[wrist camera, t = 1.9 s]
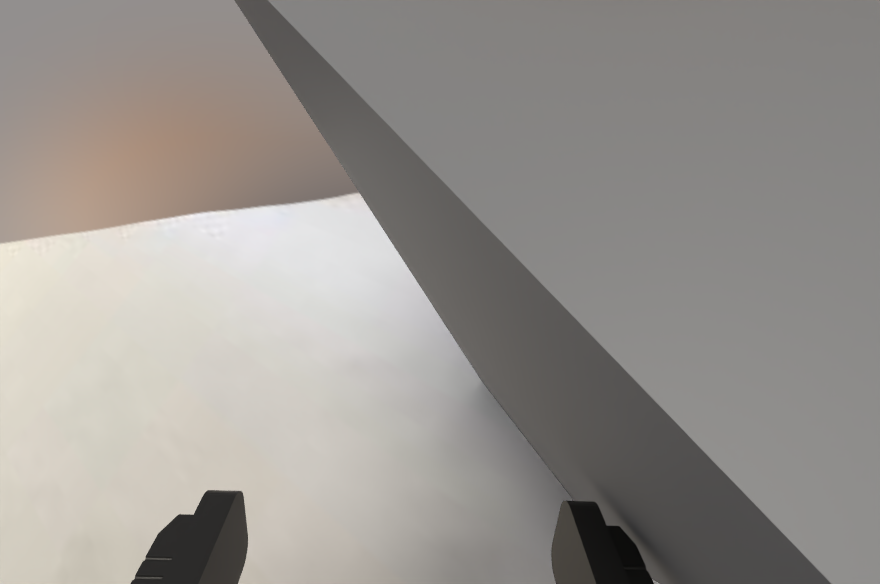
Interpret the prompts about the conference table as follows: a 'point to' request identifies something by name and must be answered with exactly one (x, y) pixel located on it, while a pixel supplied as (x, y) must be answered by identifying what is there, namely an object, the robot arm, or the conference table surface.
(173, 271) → the conference table surface
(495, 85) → the pedestal
